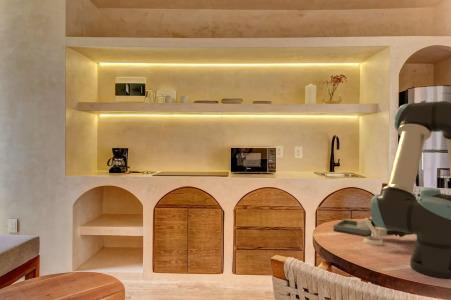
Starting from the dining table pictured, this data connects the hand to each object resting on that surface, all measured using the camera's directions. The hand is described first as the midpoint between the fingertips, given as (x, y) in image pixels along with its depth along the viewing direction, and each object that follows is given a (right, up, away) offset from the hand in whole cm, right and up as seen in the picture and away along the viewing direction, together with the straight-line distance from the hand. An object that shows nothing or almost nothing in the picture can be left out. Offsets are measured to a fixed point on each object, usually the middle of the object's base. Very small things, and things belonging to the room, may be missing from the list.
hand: (367, 228), depth 141 cm
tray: (+2, -5, +21) cm, 22 cm away
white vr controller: (+3, -6, +1) cm, 7 cm away
